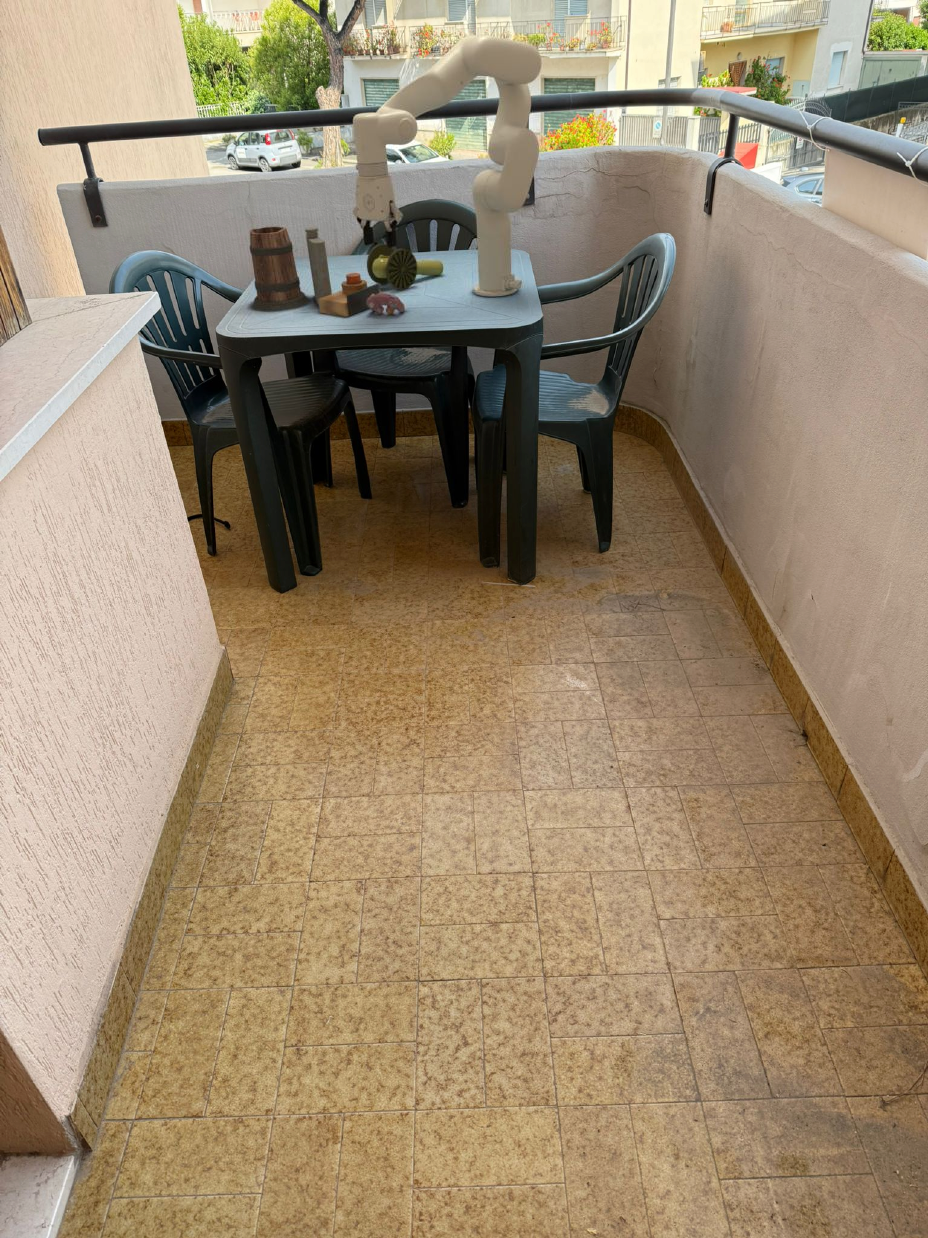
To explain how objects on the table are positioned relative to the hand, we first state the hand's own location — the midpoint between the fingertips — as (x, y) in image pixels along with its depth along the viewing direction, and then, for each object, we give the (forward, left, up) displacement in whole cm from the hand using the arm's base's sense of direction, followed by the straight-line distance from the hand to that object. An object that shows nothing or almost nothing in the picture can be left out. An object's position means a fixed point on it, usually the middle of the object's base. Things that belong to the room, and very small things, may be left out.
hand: (380, 244), depth 221 cm
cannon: (+16, -29, -18) cm, 37 cm away
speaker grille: (+8, 0, -18) cm, 20 cm away
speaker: (+14, 0, -18) cm, 22 cm away
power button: (+15, -3, -12) cm, 19 cm away
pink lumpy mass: (0, 0, -18) cm, 18 cm away
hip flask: (+26, -1, -18) cm, 31 cm away
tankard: (+38, +3, -18) cm, 42 cm away
